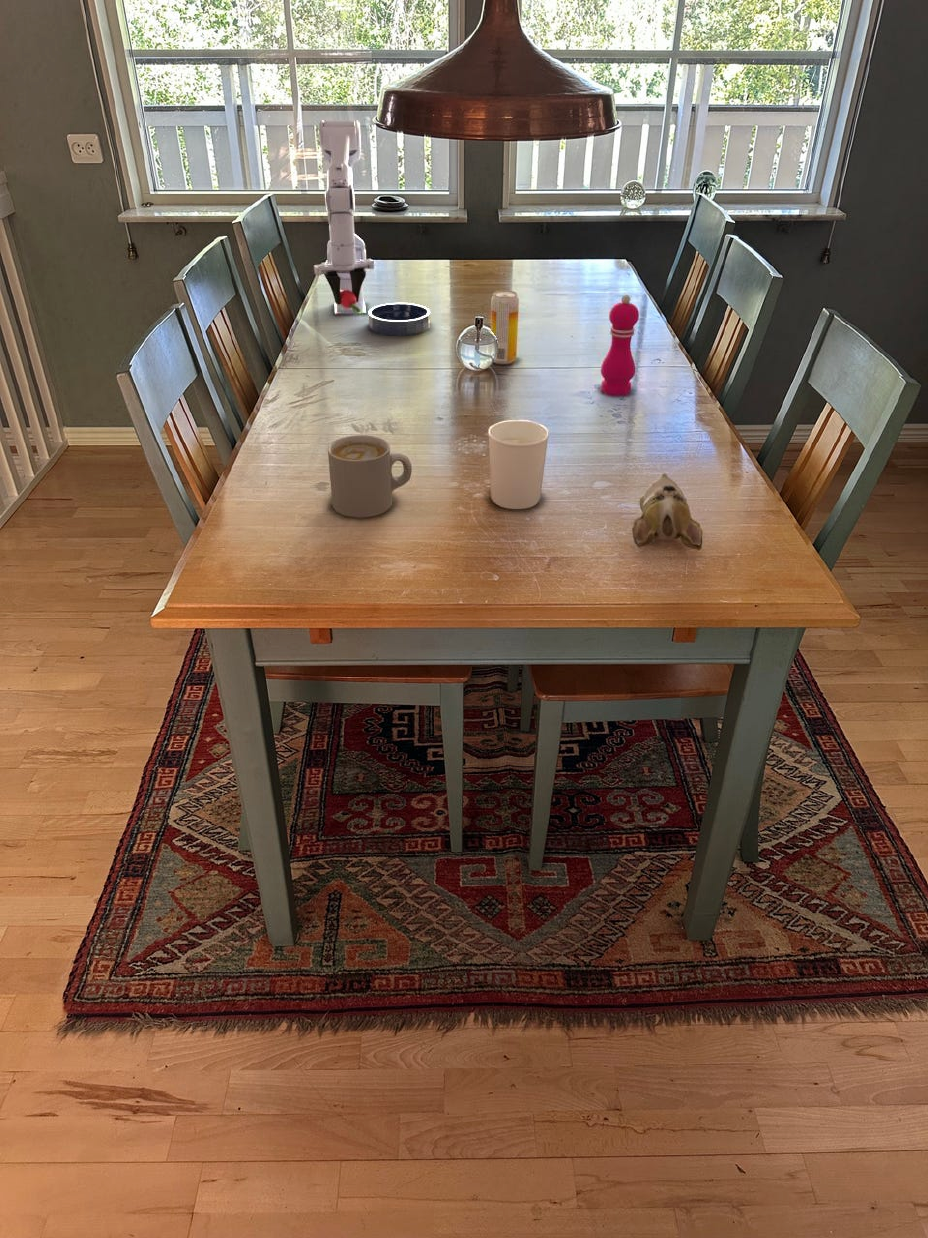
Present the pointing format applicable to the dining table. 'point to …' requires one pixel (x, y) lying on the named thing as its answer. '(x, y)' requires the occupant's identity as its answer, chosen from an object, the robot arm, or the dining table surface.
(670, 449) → the dining table surface
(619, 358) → the pepper mill
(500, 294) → the beer can
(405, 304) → the bowl
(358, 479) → the coffee mug
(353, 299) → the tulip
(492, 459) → the white cup
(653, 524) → the ceramic sculpture
